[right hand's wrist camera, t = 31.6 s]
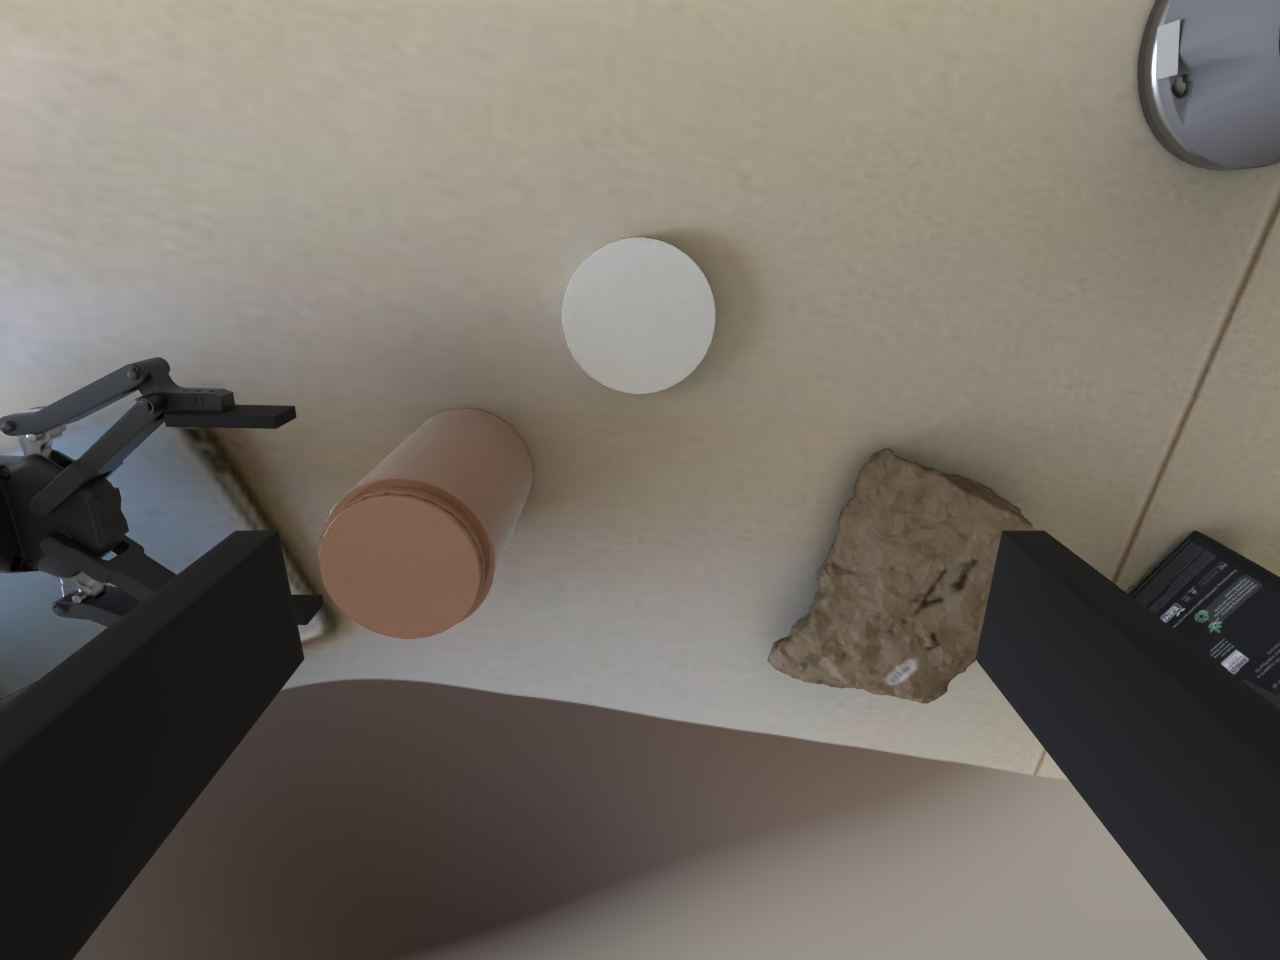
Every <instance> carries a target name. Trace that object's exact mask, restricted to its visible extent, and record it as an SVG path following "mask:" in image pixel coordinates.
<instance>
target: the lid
mask: <svg viewBox="0 0 1280 960" xmlns="http://www.w3.org/2000/svg"><path fill="white" fill-rule="evenodd" d="M562 319H563V329H564V334H565V338H566V341H567V344H568V346H569V349H570V351H571V353H572V355H573V356H574V358H575V360H576V361H577V362H578V364H579V365H580V366H581V367H582V369H583V370H584V371H585V372H586V373H587V374H588V375H589V376H591V377H592V378H593V379H595V380H596V381H597V382H599V383H601V384H603V385H604V386H606V387H609V388H611V389H613V390H616V391H620V392H624V393H631V394H647V393H654V392H658V391H662V390H665V389H667V388H670V387H672V386H674V385H675V384H677V383H679V382H681V381H682V380H683V379H685V378H686V377H687V376H689V375H690V374H691V373H692V372H693V371H694V370H695V369H696V367H697V366H698V365H699V364H700V363H701V361H702V360H703V358H704V356H705V355H706V353H707V351H708V349H709V346H710V344H711V341H712V338H713V335H714V329H715V319H716V312H715V302H714V298H713V293H712V291H711V288H710V285H709V283H708V281H707V279H706V277H705V275H704V274H703V272H702V271H701V269H700V268H699V266H698V265H697V264H696V263H695V262H694V261H693V260H692V259H691V258H690V257H689V256H688V255H686V254H685V253H684V252H683V251H681V250H679V249H678V248H676V247H675V246H673V245H671V244H668V243H666V242H664V241H660V240H657V239H653V238H646V237H633V238H625V239H621V240H617V241H614V242H612V243H610V244H607V245H605V246H603V247H602V248H600V249H598V250H597V251H595V252H594V253H593V254H592V255H590V256H589V257H588V258H587V259H586V260H585V261H584V262H583V263H582V264H581V265H580V266H579V268H578V269H577V271H576V272H575V273H574V275H573V277H572V279H571V281H570V283H569V285H568V288H567V291H566V294H565V298H564V302H563V311H562Z"/></svg>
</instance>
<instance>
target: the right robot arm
mask: <svg viewBox="0 0 1280 960" xmlns="http://www.w3.org/2000/svg"><path fill="white" fill-rule="evenodd" d="M1138 90H1139V97H1140V102H1141V106H1142V110H1143V113H1144V115H1145V118H1146V121H1147V123H1148V125H1149V127H1150V129H1151V131H1152V132H1153V134H1154V135H1155V137H1156V138H1157V139H1158V141H1159V142H1160V143H1161V144H1162V145H1163V146H1164V147H1165V148H1166V149H1167V150H1168V151H1169V152H1170V153H1172V154H1173V155H1174V156H1176V157H1178V158H1179V159H1181V160H1183V161H1185V162H1187V163H1189V164H1191V165H1194V166H1197V167H1201V168H1206V169H1213V170H1235V169H1246V168H1256V167H1264V166H1268V165H1273V164H1277V163H1280V0H1156V2H1155V4H1154V6H1153V8H1152V11H1151V13H1150V16H1149V18H1148V21H1147V24H1146V27H1145V30H1144V34H1143V37H1142V42H1141V47H1140V52H1139V60H1138ZM303 660H304V655H303V650H302V645H301V640H300V635H299V630H298V625H297V621H296V616H295V611H294V606H293V601H292V596H291V591H290V587H289V582H288V577H287V572H286V567H285V562H284V558H283V553H282V548H281V543H280V538H279V533H278V531H235V532H233V533H232V534H231V535H229V536H228V537H227V538H225V539H224V540H223V541H221V542H220V543H219V544H217V545H216V546H215V547H214V548H212V549H211V550H210V551H208V552H207V553H206V554H204V555H203V556H202V557H200V558H199V559H198V560H196V561H195V562H194V563H192V564H191V565H190V566H189V567H187V568H186V569H185V570H183V571H182V572H181V573H179V574H178V575H177V576H175V577H174V578H173V579H171V580H170V581H169V582H167V583H166V584H165V585H163V586H162V587H161V588H160V589H158V590H157V591H156V592H154V593H153V594H152V595H150V596H149V597H148V598H146V599H145V600H144V601H142V602H141V603H140V604H138V605H137V606H136V607H135V608H133V609H132V610H131V611H129V612H128V613H127V614H125V615H124V616H123V617H121V618H120V619H119V620H117V621H116V622H115V623H113V624H112V625H111V626H109V627H108V628H107V629H106V630H104V631H103V632H102V633H100V634H99V635H98V636H96V637H95V638H94V639H92V640H91V641H90V642H88V643H87V644H86V645H84V646H83V647H82V648H81V649H79V650H78V651H77V652H75V653H74V654H73V655H71V656H70V657H69V658H67V659H66V660H65V661H63V662H62V663H61V664H59V665H58V666H57V667H55V668H54V669H53V670H52V671H50V672H49V673H48V674H46V675H45V676H44V677H42V678H41V679H40V680H38V681H37V682H34V683H32V684H30V685H28V686H26V687H24V688H23V689H21V690H19V691H17V692H15V693H13V694H11V695H9V696H7V697H5V698H3V699H1V700H0V960H73V958H74V957H75V956H76V954H77V953H78V952H79V951H80V949H81V948H82V947H83V945H84V944H85V943H86V942H87V940H88V939H89V938H90V936H91V935H92V934H93V932H94V931H95V930H96V929H97V927H98V926H99V925H100V923H101V922H102V921H103V919H104V918H105V917H106V916H107V914H108V913H109V912H110V910H111V909H112V908H113V906H114V905H115V904H116V903H117V901H118V900H119V899H120V897H121V896H122V895H123V894H124V892H125V891H126V890H127V888H128V887H129V886H130V884H131V883H132V882H133V880H134V879H135V878H136V877H137V875H138V874H139V873H140V871H141V870H142V869H143V868H144V866H145V865H146V864H147V862H148V861H149V860H150V858H151V857H152V856H153V855H154V853H155V852H156V851H157V849H158V848H159V847H160V846H161V844H162V843H163V842H164V840H165V839H166V838H167V836H168V835H169V834H170V833H171V831H172V830H173V829H174V827H175V826H176V825H177V823H178V822H179V821H180V820H181V818H182V817H183V816H184V814H185V813H186V812H187V811H188V809H189V808H190V807H191V805H192V804H193V803H194V801H195V800H196V799H197V797H198V796H199V795H200V794H201V792H202V791H203V790H204V788H205V787H206V786H207V785H208V783H209V782H210V781H211V779H212V778H213V777H214V775H215V774H216V773H217V772H218V770H219V769H220V768H221V766H222V765H223V764H224V763H225V761H226V760H227V759H228V757H229V756H230V755H231V753H232V752H233V751H234V750H235V748H236V747H237V746H238V744H239V743H240V742H241V740H242V739H243V738H244V737H245V735H246V734H247V733H248V731H249V730H250V729H251V728H252V726H253V725H254V724H255V722H256V721H257V720H258V718H259V717H260V716H261V714H262V713H263V712H264V711H265V709H266V708H267V707H268V705H269V704H270V703H271V702H272V700H273V699H274V698H275V696H276V695H277V694H278V692H279V691H280V690H281V689H282V687H283V686H284V685H285V683H286V682H287V681H288V680H289V678H290V677H291V676H292V674H293V673H294V672H295V670H296V669H297V668H298V667H299V665H300V664H301V663H302V661H303ZM976 660H977V661H978V663H979V664H980V665H981V667H982V668H983V669H984V670H985V672H986V673H987V674H988V676H989V677H990V678H991V680H992V681H993V682H994V683H995V685H996V686H997V687H998V689H999V690H1000V691H1001V692H1002V694H1003V695H1004V696H1005V698H1006V699H1007V700H1008V702H1009V703H1010V704H1011V705H1012V707H1013V708H1014V709H1015V711H1016V712H1017V713H1018V715H1019V716H1020V717H1021V718H1022V720H1023V721H1024V722H1025V724H1026V725H1027V726H1028V728H1029V729H1030V730H1031V731H1032V733H1033V734H1034V735H1035V737H1036V738H1037V739H1038V740H1039V742H1040V743H1041V744H1042V746H1043V747H1044V748H1045V750H1046V751H1047V752H1048V753H1049V755H1050V756H1051V757H1052V759H1053V760H1054V761H1055V763H1056V764H1057V765H1058V766H1059V768H1060V769H1061V770H1062V772H1063V773H1064V774H1065V775H1066V777H1067V778H1068V779H1069V781H1070V782H1071V783H1072V785H1073V786H1074V787H1075V788H1076V790H1077V791H1078V792H1079V794H1080V795H1081V796H1082V798H1083V799H1084V800H1085V801H1086V803H1087V804H1088V805H1089V807H1090V808H1091V809H1092V811H1093V812H1094V813H1095V814H1096V816H1097V817H1098V818H1099V819H1100V821H1101V822H1102V823H1103V825H1104V826H1105V827H1106V829H1107V830H1108V831H1109V833H1110V834H1111V835H1112V836H1113V838H1114V839H1115V840H1116V842H1117V843H1118V844H1119V845H1120V847H1121V848H1122V849H1123V851H1124V852H1125V853H1126V855H1127V856H1128V857H1129V858H1130V860H1131V861H1132V862H1133V864H1134V865H1135V866H1136V868H1137V869H1138V870H1139V871H1140V873H1141V874H1142V875H1143V877H1144V878H1145V879H1146V881H1147V882H1148V883H1149V884H1150V886H1151V887H1152V888H1153V890H1154V891H1155V892H1156V893H1157V895H1158V896H1159V897H1160V899H1161V900H1162V901H1163V903H1164V904H1165V905H1166V906H1167V908H1168V909H1169V910H1170V912H1171V913H1172V914H1173V915H1174V917H1175V918H1176V919H1177V921H1178V922H1179V923H1180V925H1181V926H1182V927H1183V929H1184V930H1185V931H1186V932H1187V934H1188V935H1189V936H1190V938H1191V939H1192V940H1193V941H1194V943H1195V944H1196V945H1197V947H1198V948H1199V949H1200V951H1201V952H1202V953H1203V954H1204V956H1205V957H1206V958H1207V960H1280V697H1279V696H1277V695H1275V694H1273V693H1271V692H1269V691H1267V690H1265V689H1263V688H1261V687H1259V686H1257V685H1255V684H1254V683H1252V682H1250V681H1248V680H1246V679H1239V678H1238V677H1236V676H1235V675H1234V674H1232V673H1231V672H1230V671H1228V670H1227V669H1226V668H1224V667H1223V666H1222V665H1221V664H1219V663H1218V662H1217V661H1215V660H1214V659H1213V658H1211V657H1210V656H1209V655H1207V654H1206V653H1205V652H1203V651H1202V650H1201V649H1199V648H1198V647H1197V646H1196V645H1194V644H1193V643H1192V642H1190V641H1189V640H1188V639H1186V638H1185V637H1184V636H1182V635H1181V634H1180V633H1178V632H1177V631H1176V630H1174V629H1173V628H1172V627H1171V626H1169V625H1168V624H1167V623H1165V622H1164V621H1163V620H1161V619H1160V618H1159V617H1157V616H1156V615H1155V614H1153V613H1152V612H1151V611H1149V610H1148V609H1147V608H1145V607H1144V606H1143V605H1142V604H1140V603H1139V602H1138V601H1136V600H1135V599H1134V598H1132V597H1131V596H1130V595H1128V594H1127V593H1126V592H1124V591H1123V590H1122V589H1120V588H1119V587H1118V586H1117V585H1115V584H1114V583H1113V582H1111V581H1110V580H1109V579H1107V578H1106V577H1105V576H1103V575H1102V574H1101V573H1099V572H1098V571H1097V570H1095V569H1094V568H1093V567H1091V566H1090V565H1089V564H1088V563H1086V562H1085V561H1084V560H1082V559H1081V558H1080V557H1078V556H1077V555H1076V554H1074V553H1073V552H1072V551H1070V550H1069V549H1068V548H1066V547H1065V546H1064V545H1063V544H1061V543H1060V542H1059V541H1057V540H1056V539H1055V538H1053V537H1052V536H1051V535H1049V534H1048V533H1047V532H1045V531H1002V533H1001V538H1000V543H999V548H998V553H997V558H996V562H995V567H994V572H993V577H992V582H991V587H990V591H989V596H988V601H987V606H986V611H985V616H984V621H983V625H982V630H981V635H980V640H979V645H978V650H977V655H976Z"/></svg>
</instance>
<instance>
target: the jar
mask: <svg viewBox="0 0 1280 960" xmlns="http://www.w3.org/2000/svg"><path fill="white" fill-rule="evenodd" d="M532 482H533V465H532V460H531V456H530V454H529V451H528V449H527V447H526V445H525V443H524V441H523V440H522V438H521V437H520V435H519V434H518V433H517V432H516V431H515V430H514V429H513V428H512V427H511V426H510V425H509V424H507V423H506V422H505V421H503V420H502V419H500V418H498V417H496V416H495V415H493V414H490V413H487V412H485V411H481V410H477V409H469V408H458V409H450V410H447V411H443V412H440V413H438V414H436V415H434V416H432V417H431V418H429V419H427V420H426V421H425V422H424V423H423V424H421V425H420V426H419V427H418V428H417V429H416V430H415V431H414V432H413V433H412V434H410V435H409V436H408V437H407V438H406V439H405V440H404V441H403V442H402V443H401V444H400V445H399V446H397V447H396V448H395V449H394V450H393V451H392V452H391V453H390V454H389V455H388V456H387V457H385V458H384V459H383V460H382V461H381V462H380V463H379V464H378V465H377V466H376V467H375V468H373V469H372V470H371V471H370V472H369V473H368V474H367V475H366V476H365V477H364V478H363V479H361V480H360V481H359V482H358V483H357V484H356V485H355V486H354V487H353V488H352V489H351V490H350V491H348V492H347V493H346V494H345V495H344V496H343V497H342V498H341V499H340V500H339V501H338V502H337V503H336V504H335V506H334V507H333V508H332V510H331V512H330V513H329V515H328V517H327V519H326V521H325V524H324V527H323V531H322V536H321V537H320V542H319V548H318V554H317V556H318V557H319V567H320V572H321V576H322V579H323V582H324V585H325V587H326V589H327V591H328V593H329V595H330V596H331V598H332V599H333V601H334V602H335V603H336V604H337V606H338V607H339V608H340V609H341V610H342V611H343V612H344V613H345V614H346V615H347V616H348V617H350V618H351V619H352V620H354V621H355V622H356V623H358V624H360V625H362V626H363V627H365V628H367V629H369V630H371V631H374V632H376V633H379V634H382V635H386V636H390V637H395V638H405V639H410V638H423V637H428V636H432V635H435V634H438V633H441V632H443V631H445V630H447V629H449V628H451V627H452V626H454V625H455V624H457V623H459V622H461V621H463V620H464V619H466V618H467V617H468V616H470V615H471V614H472V613H473V612H474V611H475V610H476V609H477V608H478V607H479V606H480V605H481V604H482V602H483V601H484V600H485V598H486V596H487V594H488V592H489V590H490V588H491V586H492V583H493V581H494V578H495V576H496V573H497V571H498V569H499V566H500V564H501V561H502V559H503V556H504V554H505V551H506V549H507V547H508V544H509V542H510V539H511V537H512V534H513V532H514V530H515V527H516V525H517V522H518V520H519V517H520V515H521V512H522V510H523V508H524V505H525V503H526V500H527V498H528V495H529V493H530V490H531V486H532Z"/></svg>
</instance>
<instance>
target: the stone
mask: <svg viewBox="0 0 1280 960" xmlns="http://www.w3.org/2000/svg"><path fill="white" fill-rule="evenodd" d="M1020 513H1021V510H1020V509H1019V508H1017V507H1016V506H1014V505H1012V504H1011V503H1009V502H1008V501H1006V500H1005V499H1003V498H1001V497H1000V496H999V495H997V494H996V493H994V492H993V491H992V490H991V489H990V488H988V487H986V486H984V485H982V484H979V483H977V482H974V481H972V480H969V479H967V478H965V477H962V476H959V475H945V474H941V473H940V472H938V471H937V470H935V469H934V468H926V467H924V466H922V465H920V464H918V463H915V462H910V461H907V460H905V459H902V458H899V457H898V456H896V455H895V454H894V452H893V451H892V450H891V449H888V448H885V449H882V450H880V451H879V452H876V453H874V454H873V455H872V456H871V458H870V461H869V462H867V463H866V464H865V465H864V467H863V469H862V470H861V471H860V473H859V475H858V479H857V482H856V484H855V495H854V497H853V498H852V499H850V500H849V501H848V503H847V505H846V506H845V507H844V508H843V509H842V510H841V513H840V517H839V524H838V530H837V533H836V536H835V540H834V544H833V545H832V547H831V548H830V551H829V555H828V557H827V559H826V560H825V561H824V563H823V565H822V566H821V567H820V568H819V569H818V571H817V573H816V575H815V576H816V579H817V581H818V584H819V590H818V591H817V592H816V594H815V599H814V603H813V605H812V606H811V607H810V608H809V614H808V615H806V616H805V617H803V618H801V619H800V620H798V621H797V622H796V623H795V625H794V626H793V627H792V629H791V632H790V634H789V636H787V637H785V638H782V639H780V640H778V641H776V642H774V644H773V646H772V649H771V653H770V655H769V656H768V662H769V663H771V664H772V665H773V667H774V668H775V669H776V670H779V671H781V672H783V673H785V674H788V675H789V676H791V677H792V678H797V679H801V680H802V681H804V682H810V683H815V684H825V685H828V686H831V687H838V688H845V687H853V688H857V689H865V690H867V691H869V692H871V693H873V694H878V695H891V696H895V697H899V698H903V699H909V700H913V701H918V702H920V703H929V702H931V701H933V700H935V699H937V698H939V697H940V696H942V695H943V694H944V693H946V692H947V686H948V684H949V682H950V680H952V679H953V678H954V677H955V676H957V675H958V674H960V673H963V672H965V670H966V669H967V667H968V666H970V665H971V664H972V663H973V662H974V661H975V660H976V655H977V650H978V645H979V640H980V635H981V630H982V625H983V621H984V616H985V611H986V606H987V601H988V596H989V591H990V587H991V582H992V577H993V572H994V567H995V562H996V558H997V553H998V548H999V543H1000V538H1001V533H1002V531H1033V527H1032V524H1031V522H1029V521H1028V519H1026V518H1025V517H1024V516H1023V515H1022V514H1020Z"/></svg>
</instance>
